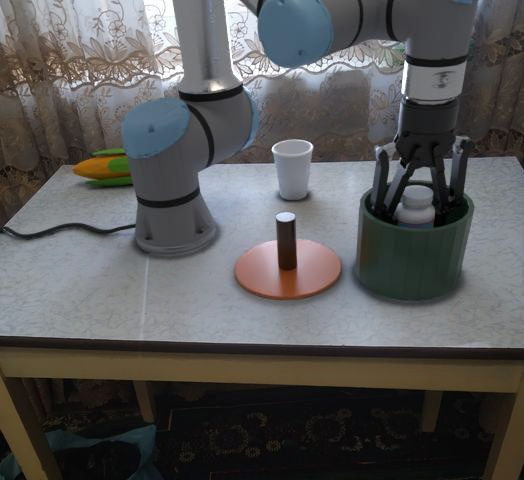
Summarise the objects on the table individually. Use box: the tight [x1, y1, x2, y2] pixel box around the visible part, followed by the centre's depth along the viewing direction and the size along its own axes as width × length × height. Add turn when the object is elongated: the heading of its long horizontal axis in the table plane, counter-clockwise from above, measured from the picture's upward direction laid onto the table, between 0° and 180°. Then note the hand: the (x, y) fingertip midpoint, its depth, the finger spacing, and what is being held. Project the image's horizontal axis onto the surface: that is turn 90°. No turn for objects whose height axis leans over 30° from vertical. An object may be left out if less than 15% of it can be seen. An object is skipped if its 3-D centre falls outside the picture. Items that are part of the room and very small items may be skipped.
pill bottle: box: [394, 185, 435, 228], centre depth 81 cm, size 6×6×11 cm
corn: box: [71, 147, 133, 187], centre depth 120 cm, size 7×8×20 cm
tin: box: [354, 179, 476, 302], centre depth 83 cm, size 17×17×12 cm
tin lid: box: [234, 211, 342, 301], centre depth 86 cm, size 18×18×10 cm
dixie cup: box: [271, 139, 314, 201], centre depth 108 cm, size 8×8×10 cm
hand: (409, 250), depth 84 cm, fingers closed on pill bottle, 6 cm apart
